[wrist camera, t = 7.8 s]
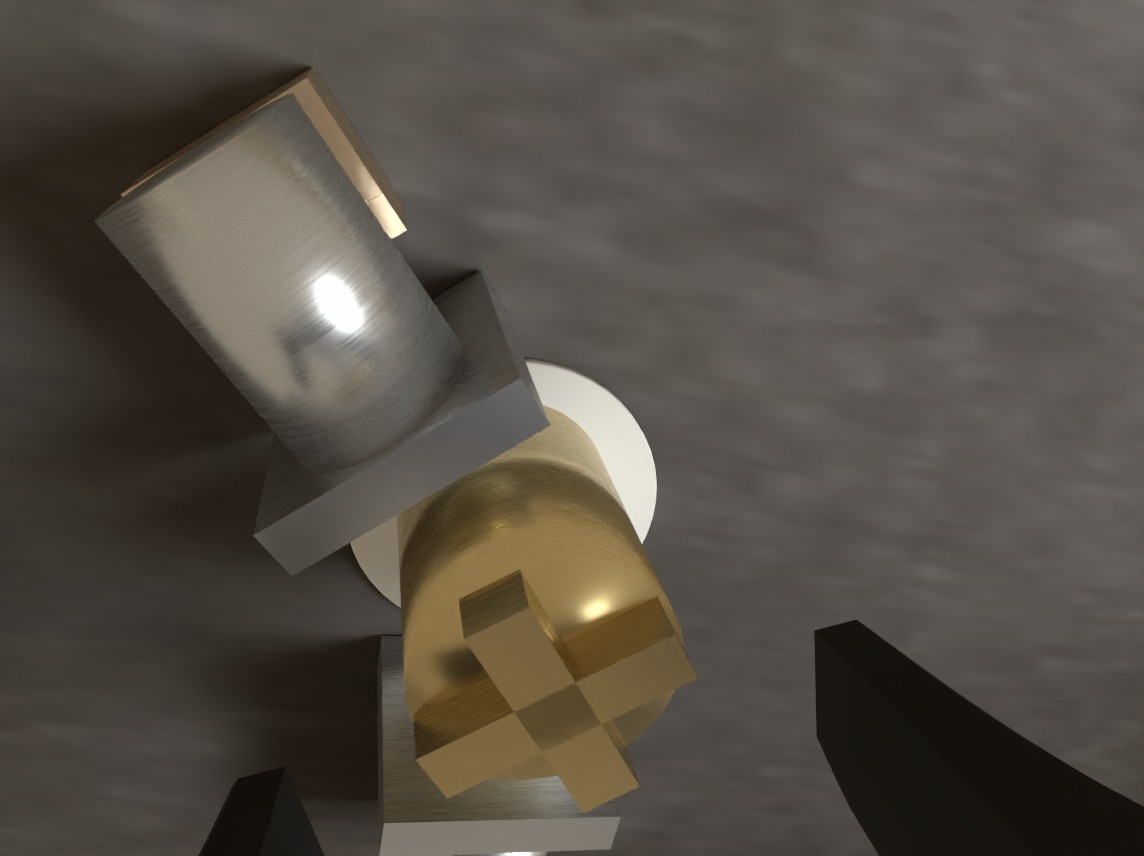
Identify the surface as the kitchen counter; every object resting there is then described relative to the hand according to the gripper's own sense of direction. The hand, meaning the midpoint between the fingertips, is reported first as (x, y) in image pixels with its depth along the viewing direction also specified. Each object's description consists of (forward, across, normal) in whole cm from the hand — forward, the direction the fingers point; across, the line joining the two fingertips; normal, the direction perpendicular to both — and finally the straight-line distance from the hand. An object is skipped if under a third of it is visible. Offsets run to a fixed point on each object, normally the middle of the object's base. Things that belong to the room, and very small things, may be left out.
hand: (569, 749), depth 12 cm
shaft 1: (+6, +2, -6) cm, 9 cm away
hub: (+6, 0, 0) cm, 6 cm away
